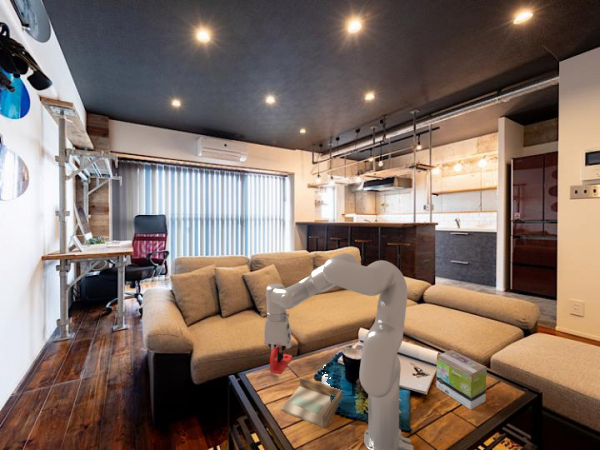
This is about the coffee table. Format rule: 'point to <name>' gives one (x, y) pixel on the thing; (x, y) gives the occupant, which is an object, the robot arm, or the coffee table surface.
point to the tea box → (461, 378)
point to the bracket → (275, 365)
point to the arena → (313, 402)
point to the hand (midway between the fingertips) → (278, 360)
